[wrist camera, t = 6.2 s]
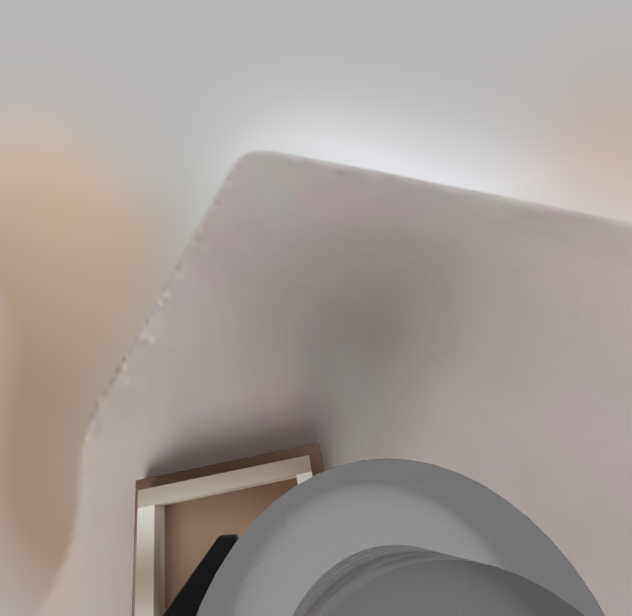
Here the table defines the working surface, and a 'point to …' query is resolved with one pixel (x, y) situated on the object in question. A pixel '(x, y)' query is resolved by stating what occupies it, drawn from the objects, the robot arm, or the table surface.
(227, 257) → the table surface
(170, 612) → the robot arm
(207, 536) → the socket board
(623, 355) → the table surface
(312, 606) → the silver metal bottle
